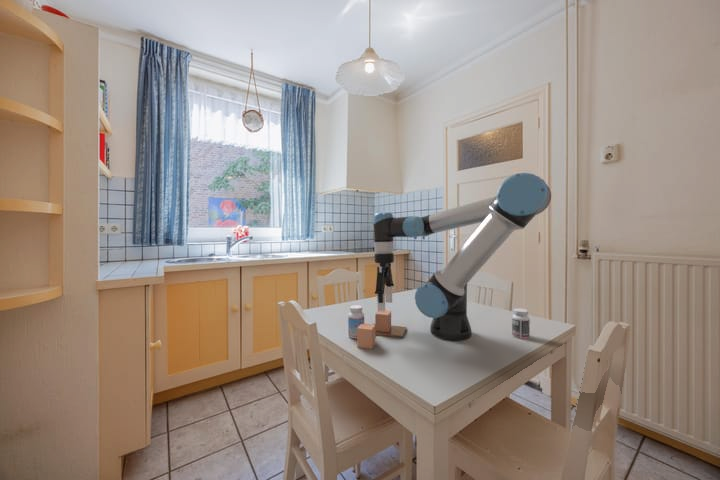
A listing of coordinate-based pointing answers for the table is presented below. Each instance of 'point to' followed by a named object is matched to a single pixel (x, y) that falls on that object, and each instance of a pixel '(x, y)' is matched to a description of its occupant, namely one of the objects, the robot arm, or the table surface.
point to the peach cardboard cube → (366, 336)
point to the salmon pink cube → (383, 321)
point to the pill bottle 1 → (355, 320)
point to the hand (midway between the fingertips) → (385, 306)
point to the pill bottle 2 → (520, 324)
